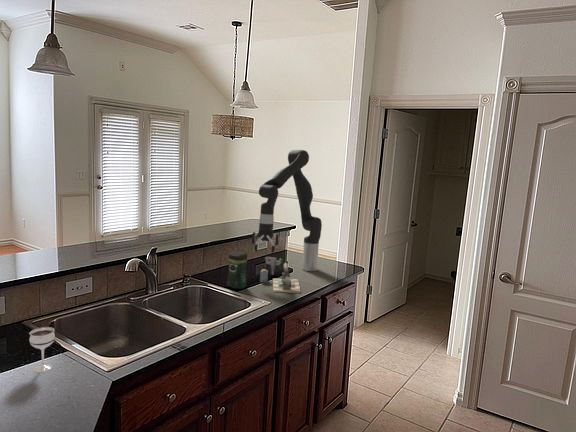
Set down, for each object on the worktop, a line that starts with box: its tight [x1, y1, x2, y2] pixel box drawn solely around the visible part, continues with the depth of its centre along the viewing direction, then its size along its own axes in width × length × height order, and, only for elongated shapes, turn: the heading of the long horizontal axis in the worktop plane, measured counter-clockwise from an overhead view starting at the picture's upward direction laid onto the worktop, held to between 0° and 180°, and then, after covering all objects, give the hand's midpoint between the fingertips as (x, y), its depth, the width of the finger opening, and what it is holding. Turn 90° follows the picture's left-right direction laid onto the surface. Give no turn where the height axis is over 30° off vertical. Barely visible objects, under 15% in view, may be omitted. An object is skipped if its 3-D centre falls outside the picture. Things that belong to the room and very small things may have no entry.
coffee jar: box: [226, 250, 248, 290], centre depth 216 cm, size 10×8×19 cm
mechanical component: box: [264, 256, 283, 276], centre depth 242 cm, size 3×10×10 cm, turn 78°
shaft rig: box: [272, 262, 301, 294], centre depth 222 cm, size 29×14×9 cm, turn 3°
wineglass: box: [28, 326, 56, 373], centre depth 128 cm, size 7×7×12 cm
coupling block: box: [259, 268, 269, 284], centre depth 229 cm, size 4×4×7 cm
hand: (264, 251), depth 225 cm, fingers open, 8 cm apart
